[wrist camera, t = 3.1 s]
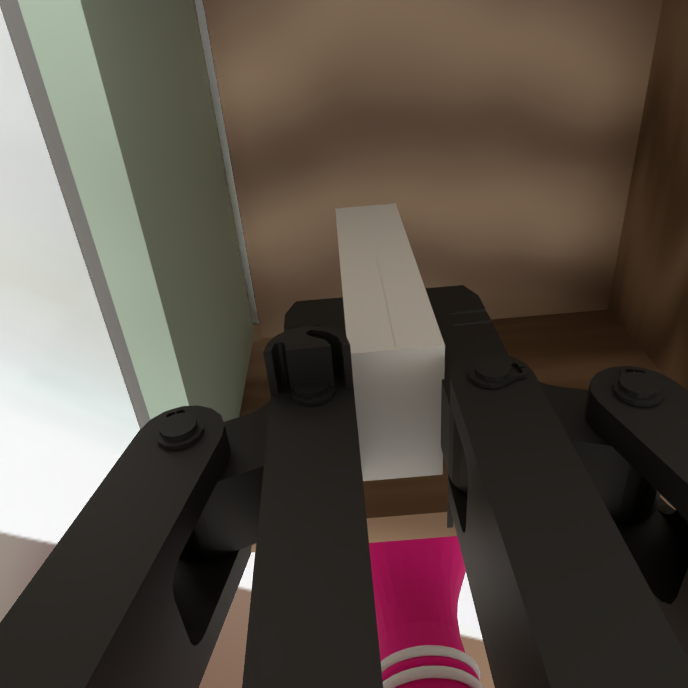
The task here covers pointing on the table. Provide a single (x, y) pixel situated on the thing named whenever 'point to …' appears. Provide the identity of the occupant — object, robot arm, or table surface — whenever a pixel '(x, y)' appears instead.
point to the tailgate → (143, 190)
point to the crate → (469, 175)
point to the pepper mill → (420, 614)
